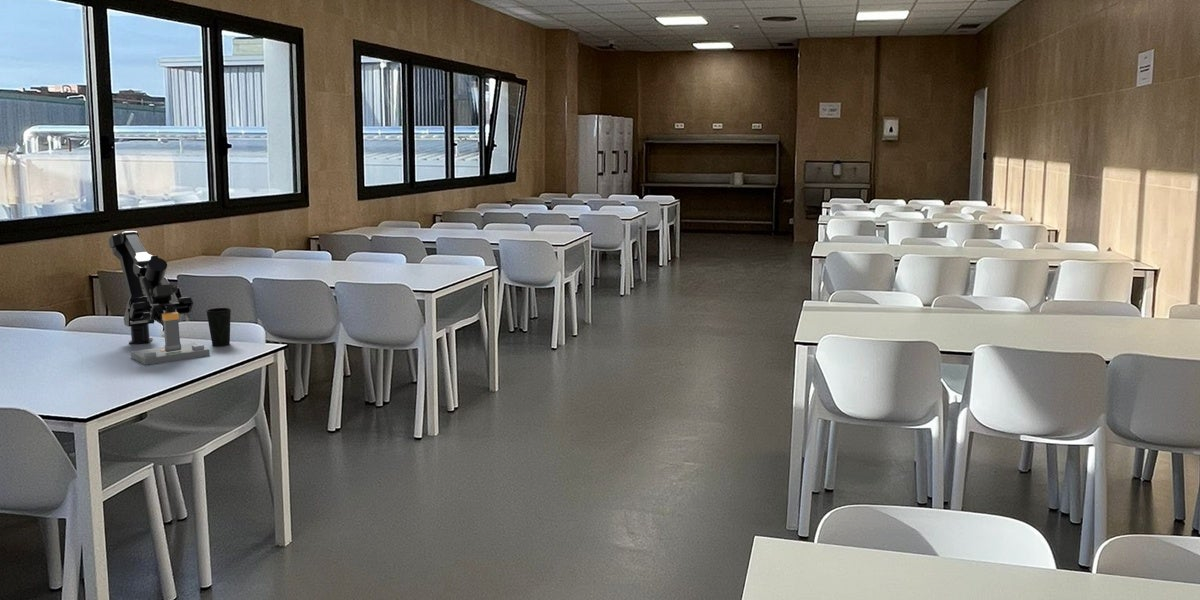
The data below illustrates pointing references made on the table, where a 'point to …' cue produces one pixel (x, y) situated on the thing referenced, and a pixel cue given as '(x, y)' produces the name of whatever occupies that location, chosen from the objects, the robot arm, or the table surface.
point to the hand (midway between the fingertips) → (169, 328)
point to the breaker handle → (171, 331)
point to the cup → (219, 326)
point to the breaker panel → (169, 354)
